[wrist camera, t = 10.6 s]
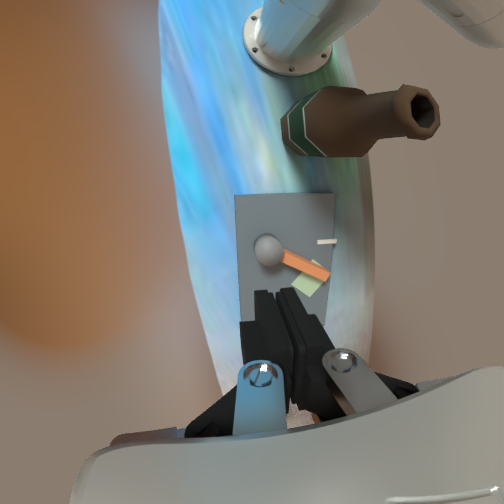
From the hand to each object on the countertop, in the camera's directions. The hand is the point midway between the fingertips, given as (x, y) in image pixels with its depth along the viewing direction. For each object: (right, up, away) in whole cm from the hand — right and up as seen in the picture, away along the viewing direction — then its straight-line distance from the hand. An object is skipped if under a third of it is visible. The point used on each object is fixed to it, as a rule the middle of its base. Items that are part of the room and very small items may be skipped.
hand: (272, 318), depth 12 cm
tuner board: (+4, +1, +29) cm, 30 cm away
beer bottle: (+6, +20, +23) cm, 31 cm away
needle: (+5, +2, +27) cm, 28 cm away
